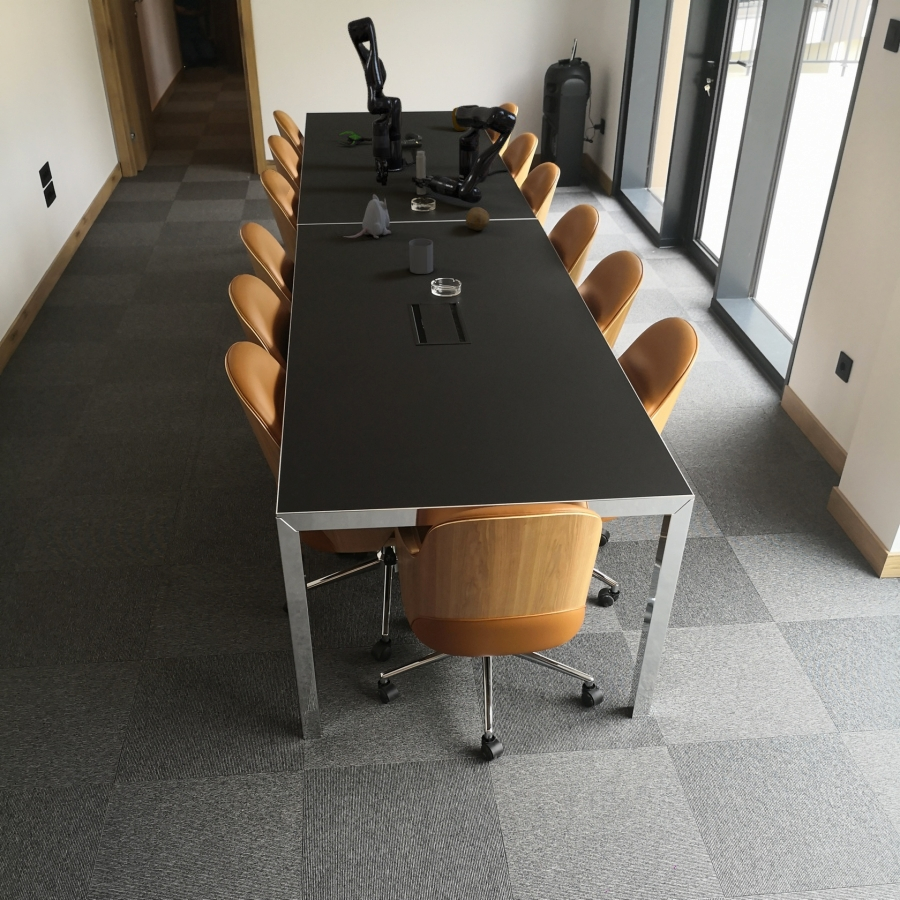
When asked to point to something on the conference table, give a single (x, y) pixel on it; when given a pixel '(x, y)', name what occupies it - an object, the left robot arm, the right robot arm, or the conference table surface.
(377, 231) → the toy
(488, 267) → the conference table surface
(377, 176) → the lid
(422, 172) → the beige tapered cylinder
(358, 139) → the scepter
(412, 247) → the cup
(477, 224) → the potato
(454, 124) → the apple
